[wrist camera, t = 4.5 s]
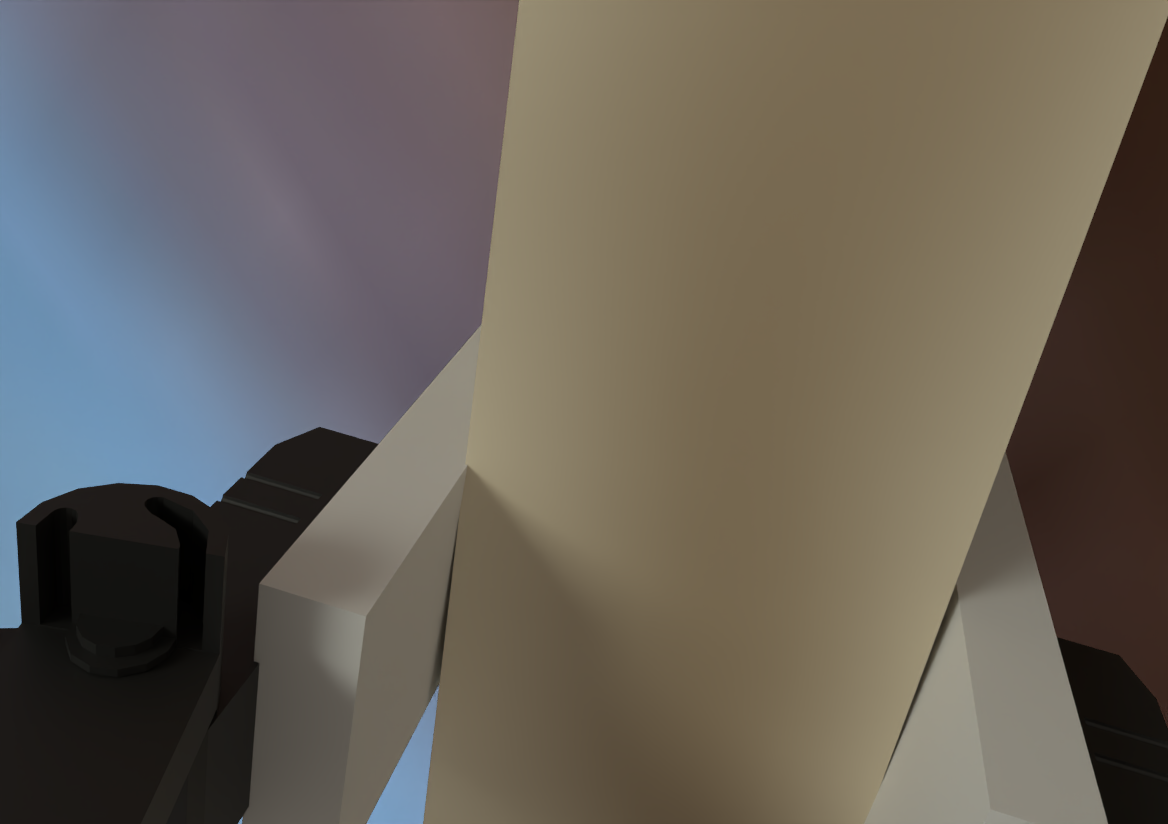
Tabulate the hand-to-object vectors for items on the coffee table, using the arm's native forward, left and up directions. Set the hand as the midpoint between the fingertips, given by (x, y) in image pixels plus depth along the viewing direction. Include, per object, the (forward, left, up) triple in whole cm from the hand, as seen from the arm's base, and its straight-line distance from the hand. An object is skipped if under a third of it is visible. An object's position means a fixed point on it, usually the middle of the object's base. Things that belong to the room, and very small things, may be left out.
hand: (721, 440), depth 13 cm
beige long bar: (0, 0, -1) cm, 1 cm away
